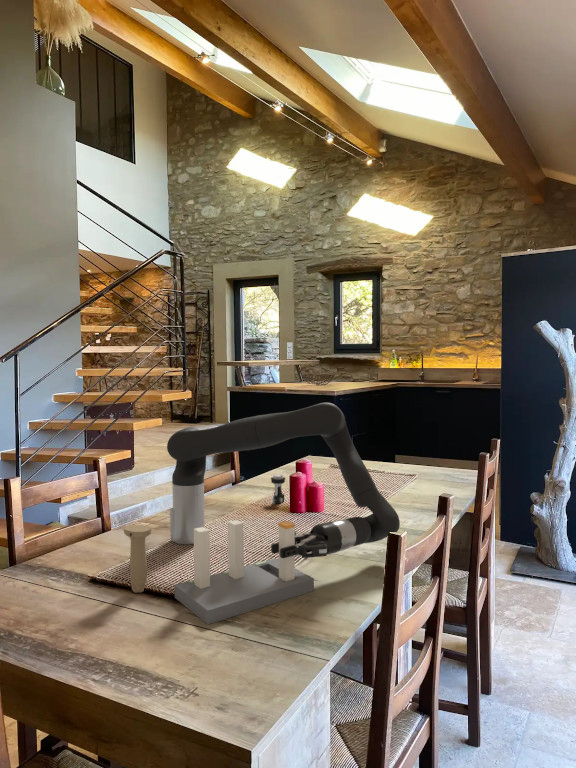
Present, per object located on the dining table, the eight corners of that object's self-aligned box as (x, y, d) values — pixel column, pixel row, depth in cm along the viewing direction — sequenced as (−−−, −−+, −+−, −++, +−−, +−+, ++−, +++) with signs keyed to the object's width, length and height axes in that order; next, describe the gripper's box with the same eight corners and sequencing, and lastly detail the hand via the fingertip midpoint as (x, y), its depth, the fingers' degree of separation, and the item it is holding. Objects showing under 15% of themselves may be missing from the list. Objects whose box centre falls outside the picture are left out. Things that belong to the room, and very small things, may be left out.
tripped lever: (286, 585, 136) (286, 525, 135) (278, 581, 138) (278, 522, 137) (294, 582, 137) (294, 523, 136) (287, 578, 140) (286, 520, 139)
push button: (278, 506, 209) (278, 478, 208) (266, 504, 212) (266, 476, 211) (288, 501, 215) (288, 474, 214) (275, 499, 218) (275, 473, 217)
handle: (142, 597, 134) (141, 533, 133) (121, 591, 137) (119, 529, 136) (156, 589, 139) (155, 527, 138) (135, 584, 141) (133, 523, 140)
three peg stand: (208, 624, 121) (207, 549, 120) (174, 597, 134) (173, 529, 133) (313, 590, 137) (313, 523, 136) (275, 569, 150) (274, 508, 149)
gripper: (315, 515, 151) (259, 527, 141) (352, 529, 139) (294, 543, 129) (315, 543, 151) (259, 558, 141) (352, 559, 140) (294, 577, 130)
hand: (276, 551), depth 135 cm, fingers closed on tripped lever, 3 cm apart
